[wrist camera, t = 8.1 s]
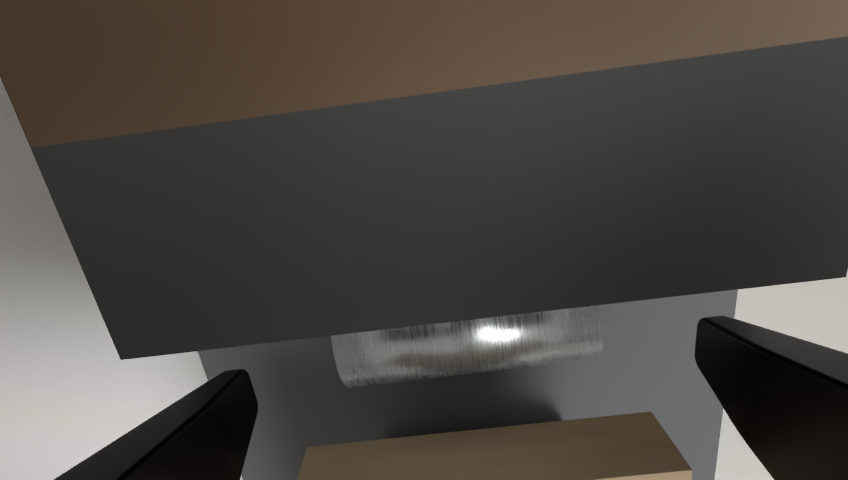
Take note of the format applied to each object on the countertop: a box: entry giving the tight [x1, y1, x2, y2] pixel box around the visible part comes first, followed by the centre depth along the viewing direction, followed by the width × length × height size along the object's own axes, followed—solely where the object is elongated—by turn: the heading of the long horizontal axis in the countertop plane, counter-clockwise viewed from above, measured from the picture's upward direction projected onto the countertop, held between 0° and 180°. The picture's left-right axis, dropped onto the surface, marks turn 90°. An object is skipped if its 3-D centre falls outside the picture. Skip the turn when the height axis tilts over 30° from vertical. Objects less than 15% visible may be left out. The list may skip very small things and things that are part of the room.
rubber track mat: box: [198, 289, 738, 480], centre depth 15 cm, size 30×16×1 cm, turn 7°
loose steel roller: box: [331, 305, 605, 388], centre depth 11 cm, size 3×6×3 cm, turn 98°
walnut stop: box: [0, 0, 848, 360], centre depth 8 cm, size 6×10×6 cm, turn 97°
